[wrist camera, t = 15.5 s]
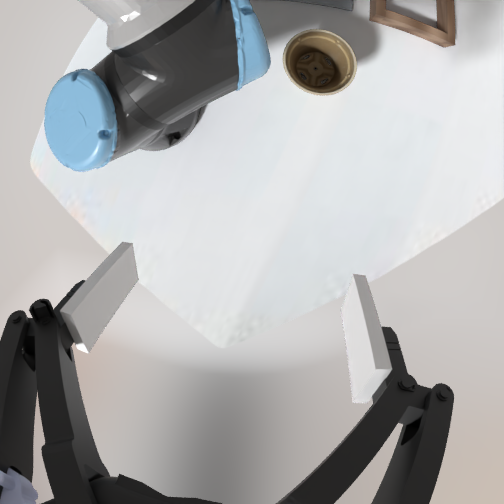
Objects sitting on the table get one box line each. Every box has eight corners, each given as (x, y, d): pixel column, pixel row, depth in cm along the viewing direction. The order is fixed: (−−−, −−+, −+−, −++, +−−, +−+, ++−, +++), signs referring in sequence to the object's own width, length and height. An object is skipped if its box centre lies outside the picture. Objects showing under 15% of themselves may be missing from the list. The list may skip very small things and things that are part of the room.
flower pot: (273, 77, 37) (269, 71, 30) (302, 32, 32) (305, 17, 25) (325, 107, 39) (333, 109, 31) (355, 63, 34) (369, 55, 26)
